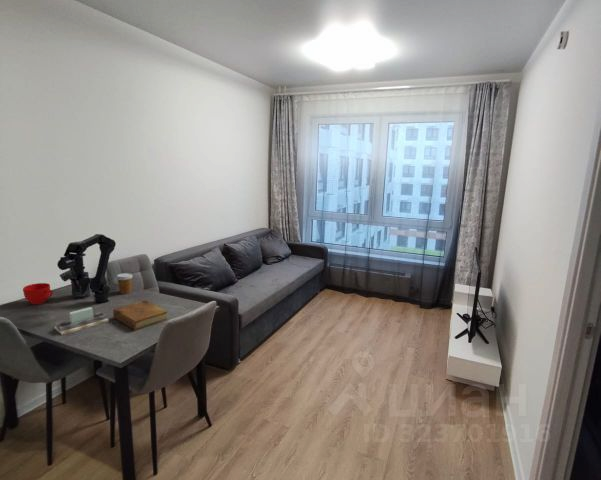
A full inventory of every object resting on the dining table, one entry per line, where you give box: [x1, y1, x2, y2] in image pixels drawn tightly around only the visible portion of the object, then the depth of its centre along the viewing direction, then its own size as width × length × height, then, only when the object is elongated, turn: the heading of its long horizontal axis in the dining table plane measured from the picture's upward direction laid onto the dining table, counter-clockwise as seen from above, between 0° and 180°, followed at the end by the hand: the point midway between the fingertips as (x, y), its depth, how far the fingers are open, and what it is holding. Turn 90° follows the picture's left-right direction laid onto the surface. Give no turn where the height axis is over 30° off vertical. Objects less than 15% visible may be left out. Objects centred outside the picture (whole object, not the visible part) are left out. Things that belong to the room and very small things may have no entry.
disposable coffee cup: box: [116, 272, 134, 295], centre depth 232 cm, size 10×10×12 cm
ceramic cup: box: [22, 282, 53, 305], centre depth 210 cm, size 13×17×10 cm
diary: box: [112, 299, 169, 332], centre depth 195 cm, size 23×19×6 cm
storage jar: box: [70, 271, 91, 300], centre depth 221 cm, size 10×10×15 cm
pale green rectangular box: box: [69, 306, 94, 324], centre depth 184 cm, size 10×3×7 cm, turn 141°
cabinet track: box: [54, 311, 109, 336], centre depth 185 cm, size 22×10×3 cm, turn 141°
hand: (79, 291), depth 198 cm, fingers open, 9 cm apart
